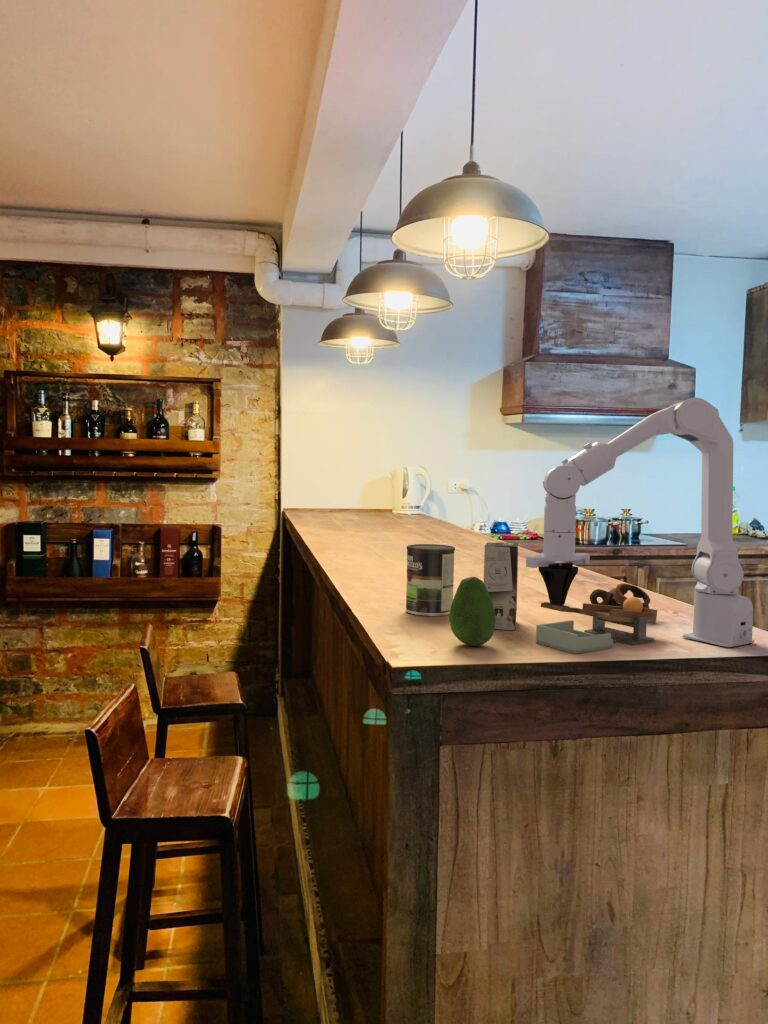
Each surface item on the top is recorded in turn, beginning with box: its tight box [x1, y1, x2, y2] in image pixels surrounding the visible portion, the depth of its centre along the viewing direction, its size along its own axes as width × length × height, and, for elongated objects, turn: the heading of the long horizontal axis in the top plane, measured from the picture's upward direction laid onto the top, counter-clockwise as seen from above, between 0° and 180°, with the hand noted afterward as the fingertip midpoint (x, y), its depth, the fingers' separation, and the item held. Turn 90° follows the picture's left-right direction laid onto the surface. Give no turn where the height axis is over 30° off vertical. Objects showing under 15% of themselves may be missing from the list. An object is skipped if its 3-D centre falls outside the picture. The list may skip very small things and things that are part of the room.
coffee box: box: [483, 541, 519, 631], centre depth 147 cm, size 9×6×16 cm
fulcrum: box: [583, 616, 655, 646], centre depth 138 cm, size 11×6×4 cm, turn 32°
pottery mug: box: [589, 583, 651, 609], centre depth 156 cm, size 12×10×8 cm
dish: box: [535, 620, 614, 655], centre depth 131 cm, size 9×9×3 cm
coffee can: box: [405, 543, 456, 617], centre depth 160 cm, size 10×10×14 cm
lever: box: [540, 601, 658, 628], centre depth 139 cm, size 14×16×4 cm
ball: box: [623, 596, 643, 611], centre depth 139 cm, size 4×4×4 cm
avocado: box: [448, 576, 496, 647], centre depth 129 cm, size 8×8×12 cm
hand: (557, 604), depth 139 cm, fingers closed
